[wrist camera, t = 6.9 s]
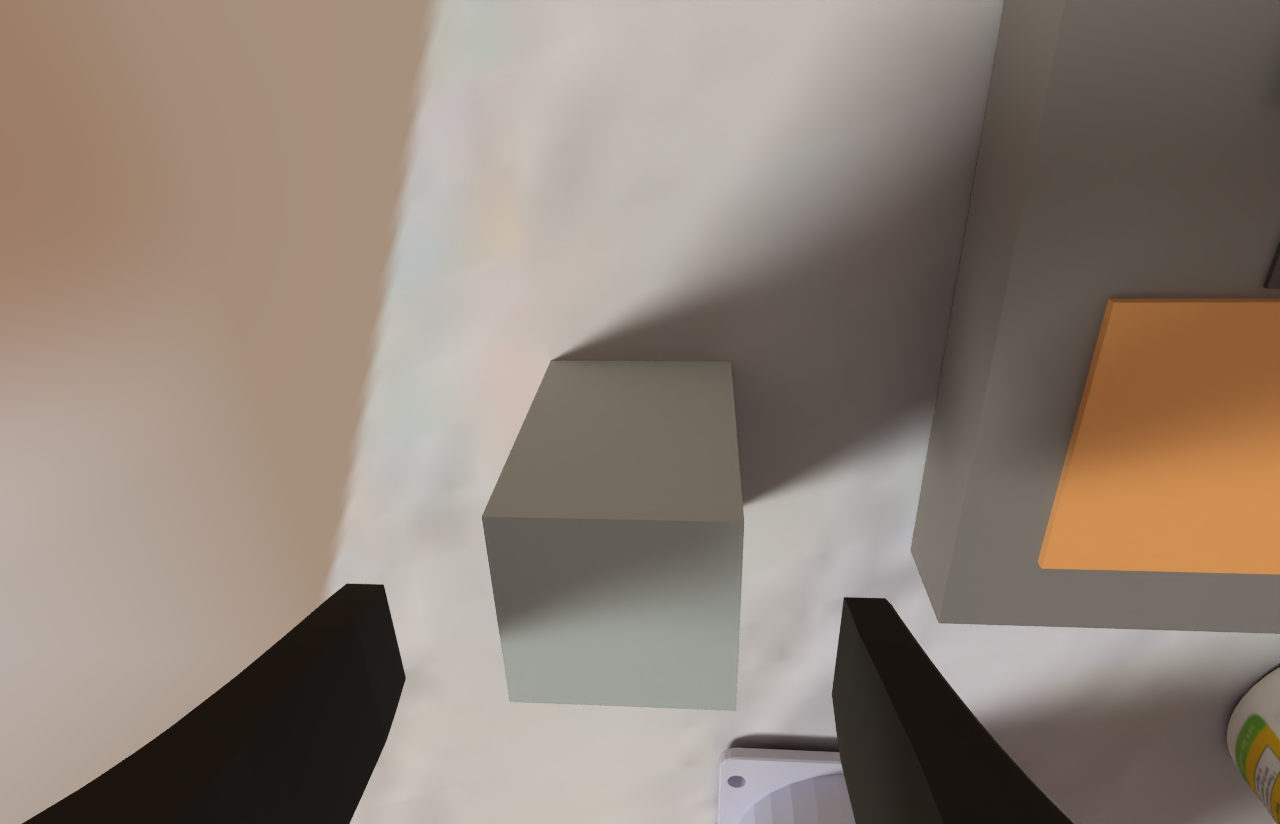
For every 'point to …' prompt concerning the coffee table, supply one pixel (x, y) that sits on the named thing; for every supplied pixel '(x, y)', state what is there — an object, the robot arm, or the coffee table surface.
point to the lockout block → (621, 538)
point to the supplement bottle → (1259, 740)
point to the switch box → (1116, 329)
